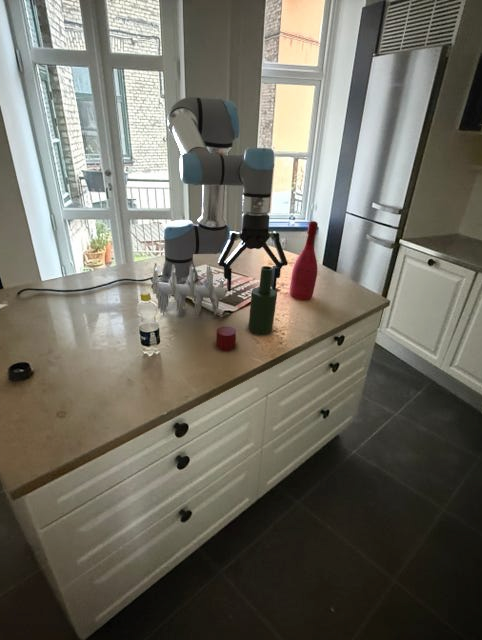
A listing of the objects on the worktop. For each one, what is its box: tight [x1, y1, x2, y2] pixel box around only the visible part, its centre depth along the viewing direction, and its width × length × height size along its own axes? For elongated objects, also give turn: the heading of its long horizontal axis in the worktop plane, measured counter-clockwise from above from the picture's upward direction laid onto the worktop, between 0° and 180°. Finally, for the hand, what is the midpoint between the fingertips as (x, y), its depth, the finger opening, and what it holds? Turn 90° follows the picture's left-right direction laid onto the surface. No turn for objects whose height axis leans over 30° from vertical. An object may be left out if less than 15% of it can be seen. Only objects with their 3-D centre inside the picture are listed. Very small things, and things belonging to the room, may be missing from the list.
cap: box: [215, 325, 237, 352], centre depth 116 cm, size 6×6×6 cm
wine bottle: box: [289, 220, 318, 301], centre depth 144 cm, size 10×10×30 cm
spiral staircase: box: [152, 262, 227, 317], centre depth 129 cm, size 18×18×25 cm
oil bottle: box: [247, 265, 278, 336], centre depth 121 cm, size 8×8×22 cm
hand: (251, 289), depth 110 cm, fingers open, 13 cm apart
